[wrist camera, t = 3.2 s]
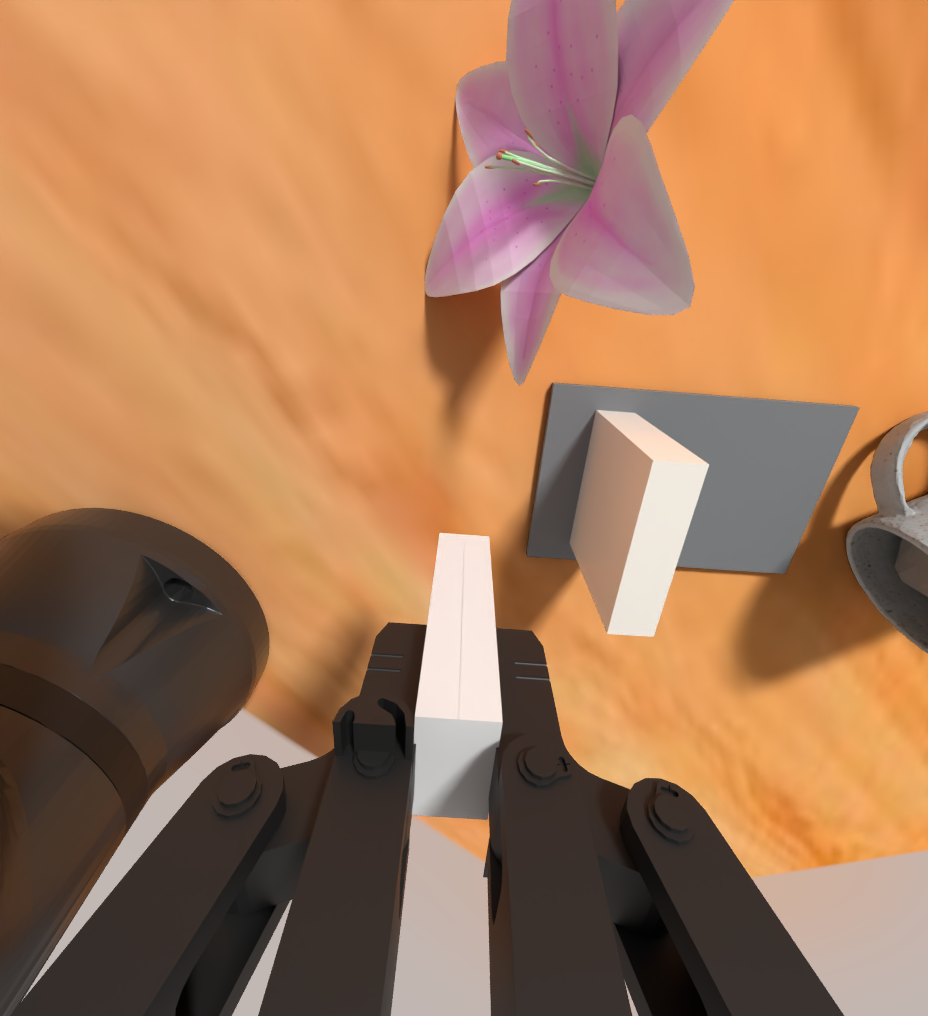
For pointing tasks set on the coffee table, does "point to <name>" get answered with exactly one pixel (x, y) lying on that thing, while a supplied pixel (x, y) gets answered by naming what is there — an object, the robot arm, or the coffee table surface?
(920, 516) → the ceramic mug
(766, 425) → the mat
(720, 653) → the coffee table surface
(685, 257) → the lily
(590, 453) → the tile
